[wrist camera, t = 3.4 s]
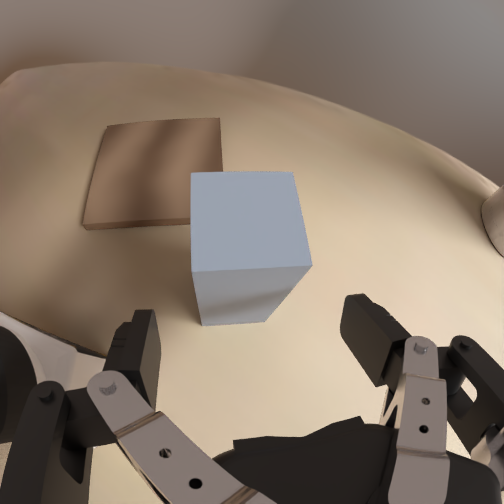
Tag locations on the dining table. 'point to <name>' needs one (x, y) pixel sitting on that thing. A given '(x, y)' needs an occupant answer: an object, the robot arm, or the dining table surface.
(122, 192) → the board
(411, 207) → the dining table surface
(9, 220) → the dining table surface
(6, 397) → the medicine bottle
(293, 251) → the block
